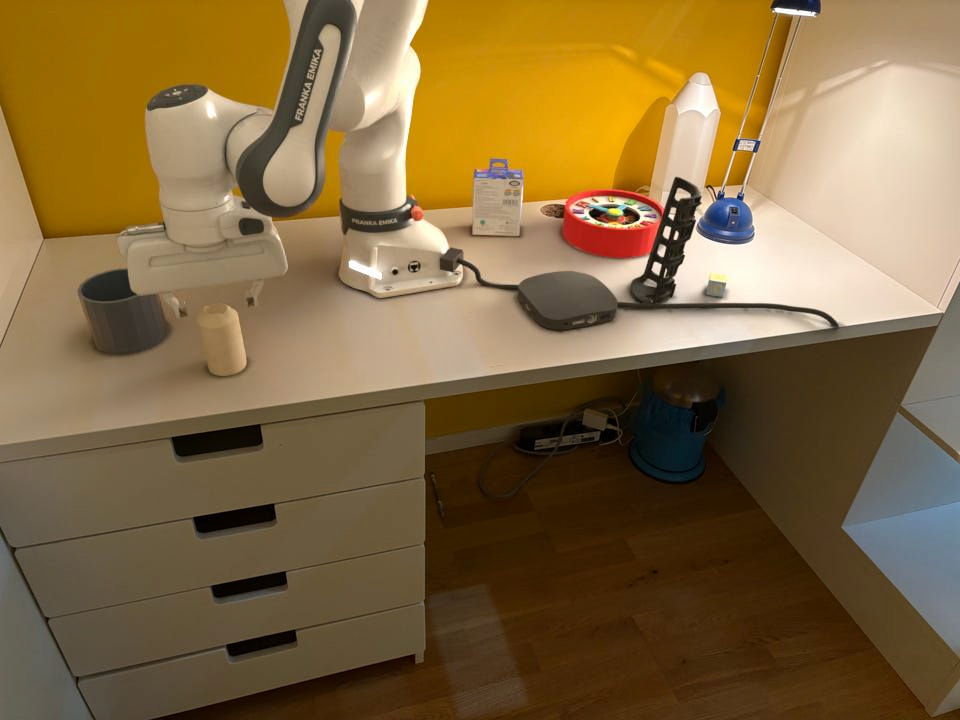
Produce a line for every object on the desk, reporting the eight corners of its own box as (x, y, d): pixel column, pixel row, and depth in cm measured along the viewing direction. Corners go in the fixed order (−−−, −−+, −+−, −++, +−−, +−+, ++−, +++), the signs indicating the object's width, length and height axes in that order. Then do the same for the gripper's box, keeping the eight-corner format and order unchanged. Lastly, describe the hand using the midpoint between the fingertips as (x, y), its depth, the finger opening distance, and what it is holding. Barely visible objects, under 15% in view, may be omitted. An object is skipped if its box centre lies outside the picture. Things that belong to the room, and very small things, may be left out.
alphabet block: (705, 294, 130) (708, 279, 128) (707, 286, 132) (710, 271, 130) (723, 298, 129) (726, 282, 127) (724, 290, 131) (728, 275, 129)
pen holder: (172, 315, 119) (160, 266, 114) (161, 351, 110) (147, 300, 105) (103, 319, 117) (87, 270, 112) (86, 357, 109) (68, 305, 104)
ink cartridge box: (519, 225, 151) (524, 157, 143) (520, 237, 147) (525, 167, 138) (472, 224, 151) (474, 155, 143) (471, 235, 147) (473, 165, 138)
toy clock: (638, 239, 134) (546, 211, 143) (634, 267, 137) (543, 238, 146) (682, 205, 147) (594, 181, 157) (676, 232, 151) (591, 207, 160)
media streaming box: (583, 279, 133) (585, 265, 131) (624, 320, 122) (627, 304, 120) (510, 292, 128) (511, 277, 126) (545, 335, 117) (547, 319, 115)
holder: (622, 277, 133) (651, 173, 122) (661, 280, 134) (693, 177, 123) (637, 308, 124) (670, 200, 113) (679, 311, 126) (716, 204, 114)
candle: (236, 379, 105) (224, 320, 100) (201, 373, 106) (187, 315, 100) (253, 357, 110) (242, 300, 104) (219, 352, 111) (207, 295, 105)
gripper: (112, 238, 88) (138, 334, 96) (283, 219, 95) (294, 309, 103) (112, 217, 93) (137, 310, 101) (275, 200, 100) (286, 288, 108)
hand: (217, 309), depth 102 cm, fingers open, 8 cm apart
